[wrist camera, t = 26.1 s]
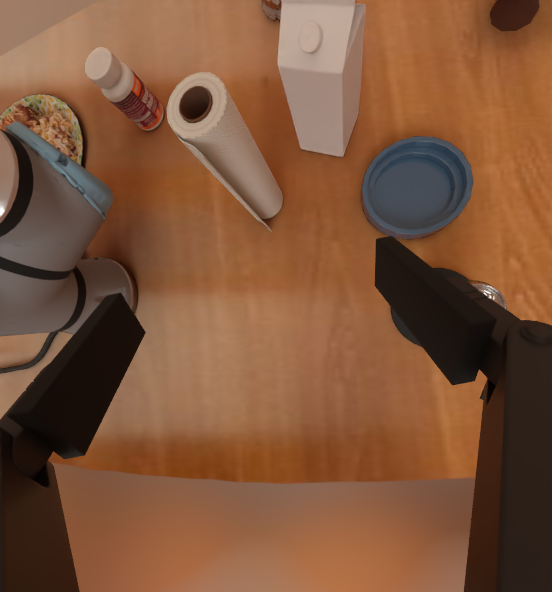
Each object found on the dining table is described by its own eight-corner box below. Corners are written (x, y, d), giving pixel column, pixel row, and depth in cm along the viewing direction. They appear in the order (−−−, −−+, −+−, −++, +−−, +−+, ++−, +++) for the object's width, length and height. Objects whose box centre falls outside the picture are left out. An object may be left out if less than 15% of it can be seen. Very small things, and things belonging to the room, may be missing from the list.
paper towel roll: (258, 179, 44) (181, 62, 24) (290, 190, 43) (237, 77, 22) (240, 218, 45) (149, 138, 24) (271, 231, 43) (202, 157, 22)
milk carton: (315, 107, 42) (292, -50, 24) (359, 113, 41) (370, -50, 22) (300, 149, 43) (266, 26, 24) (343, 158, 41) (341, 31, 22)
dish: (407, 259, 38) (412, 255, 35) (342, 197, 40) (342, 189, 38) (487, 190, 36) (498, 180, 33) (412, 130, 38) (417, 116, 36)
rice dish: (113, 134, 54) (88, 113, 49) (44, 247, 55) (13, 239, 50) (34, 86, 61) (6, 63, 56) (-25, 187, 62) (-58, 175, 57)
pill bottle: (169, 121, 50) (119, 67, 39) (143, 138, 51) (88, 90, 40) (159, 94, 50) (107, 34, 40) (134, 112, 52) (77, 58, 41)
